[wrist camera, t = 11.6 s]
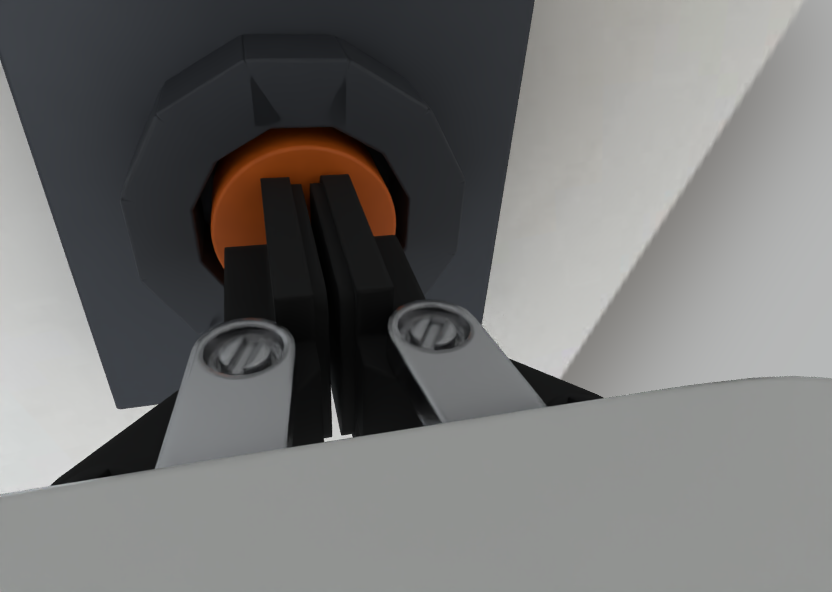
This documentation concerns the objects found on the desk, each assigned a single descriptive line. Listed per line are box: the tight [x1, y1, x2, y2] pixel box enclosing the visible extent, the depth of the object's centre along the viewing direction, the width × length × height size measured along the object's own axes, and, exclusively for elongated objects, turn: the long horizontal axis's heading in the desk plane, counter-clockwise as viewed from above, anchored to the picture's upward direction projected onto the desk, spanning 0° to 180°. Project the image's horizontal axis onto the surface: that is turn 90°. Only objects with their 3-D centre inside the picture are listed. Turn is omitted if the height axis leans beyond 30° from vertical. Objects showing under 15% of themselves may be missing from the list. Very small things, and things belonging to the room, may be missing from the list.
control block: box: [0, 0, 535, 409], centre depth 13 cm, size 12×10×4 cm
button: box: [211, 127, 396, 268], centre depth 12 cm, size 4×4×2 cm
